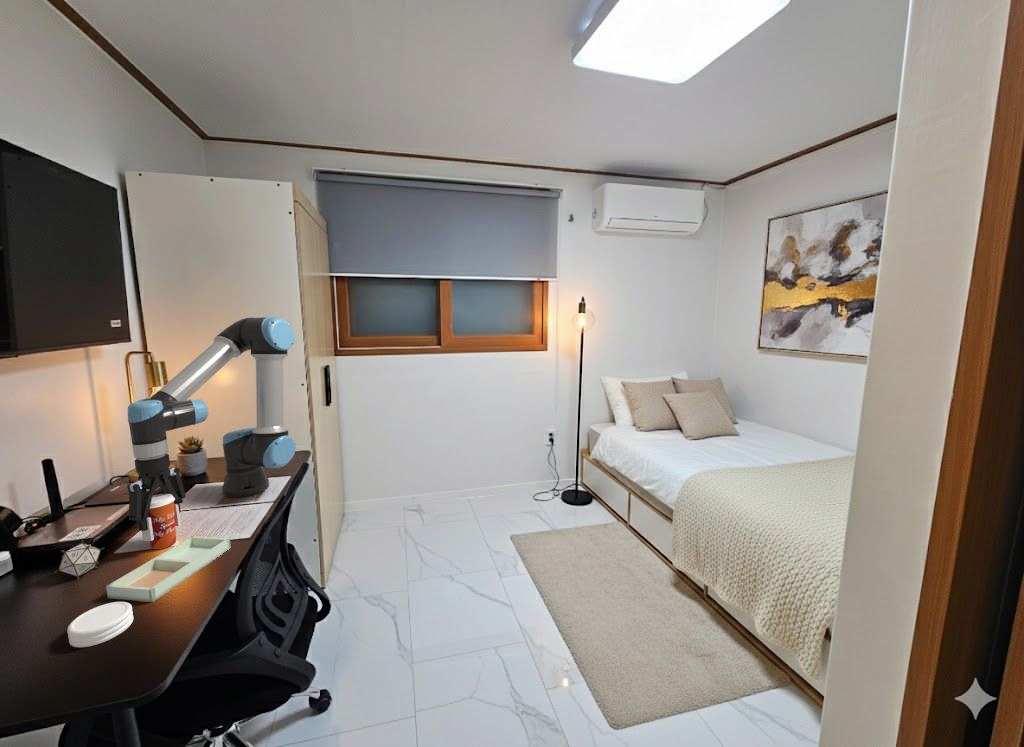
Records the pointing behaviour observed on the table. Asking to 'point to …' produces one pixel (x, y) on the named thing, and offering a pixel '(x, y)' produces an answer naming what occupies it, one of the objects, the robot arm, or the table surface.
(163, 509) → the paper cup
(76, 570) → the game die
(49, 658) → the table surface
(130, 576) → the mint green tray
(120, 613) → the coaster
